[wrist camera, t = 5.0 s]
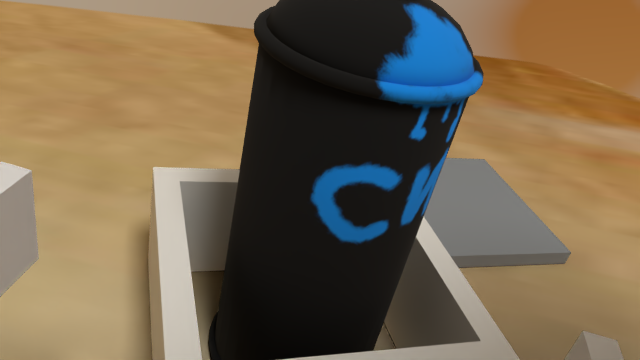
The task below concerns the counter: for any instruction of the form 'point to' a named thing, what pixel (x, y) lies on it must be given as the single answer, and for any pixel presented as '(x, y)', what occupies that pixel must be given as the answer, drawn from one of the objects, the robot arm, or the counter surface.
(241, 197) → the aerosol can
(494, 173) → the pad
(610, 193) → the counter surface
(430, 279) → the white open tray
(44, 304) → the counter surface
